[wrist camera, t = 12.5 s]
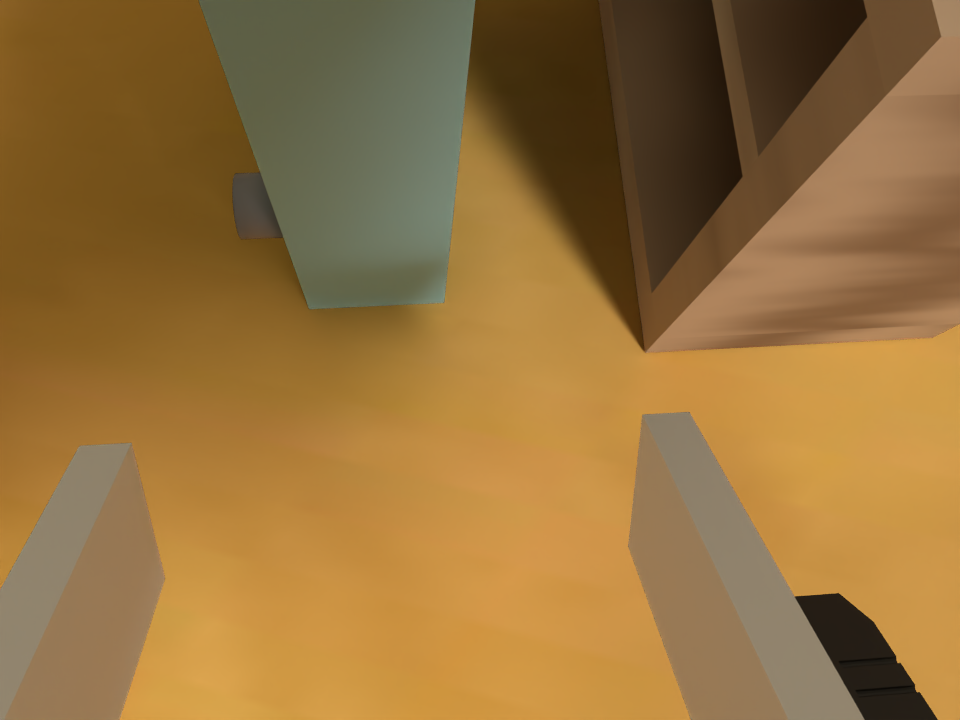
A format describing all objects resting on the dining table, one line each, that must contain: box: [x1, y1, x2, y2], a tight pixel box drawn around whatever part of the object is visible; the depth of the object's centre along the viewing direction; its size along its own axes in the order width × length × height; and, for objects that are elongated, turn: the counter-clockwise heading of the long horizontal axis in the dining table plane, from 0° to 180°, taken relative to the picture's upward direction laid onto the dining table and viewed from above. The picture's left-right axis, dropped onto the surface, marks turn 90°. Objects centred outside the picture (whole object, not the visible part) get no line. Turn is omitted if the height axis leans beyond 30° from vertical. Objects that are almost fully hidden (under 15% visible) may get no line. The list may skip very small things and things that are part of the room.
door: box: [199, 0, 475, 309], centre depth 17 cm, size 4×9×12 cm, turn 4°
